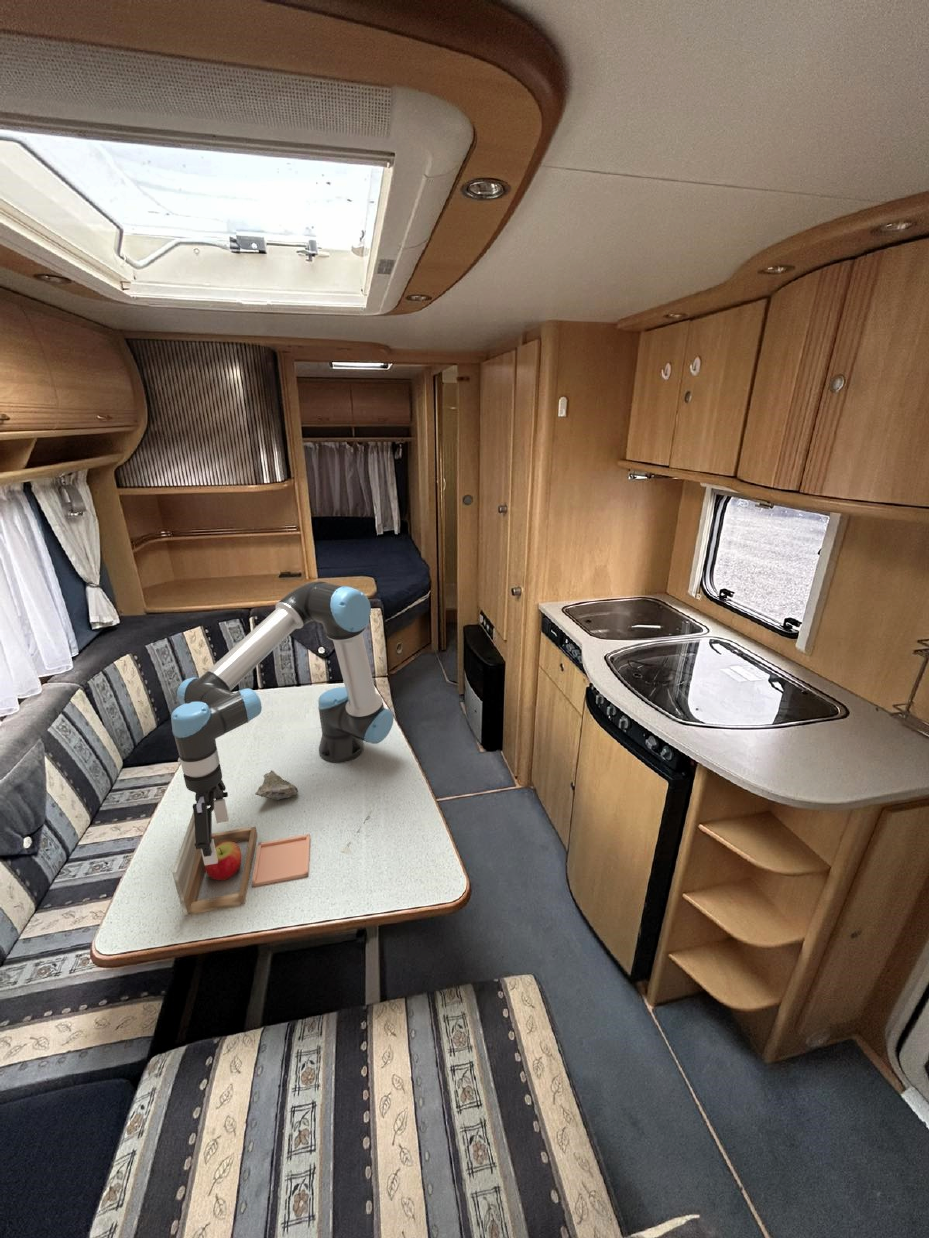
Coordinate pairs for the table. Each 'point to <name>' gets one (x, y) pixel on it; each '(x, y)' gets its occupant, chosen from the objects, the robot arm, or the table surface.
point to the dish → (281, 860)
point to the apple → (225, 861)
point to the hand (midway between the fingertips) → (217, 841)
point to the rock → (276, 787)
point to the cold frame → (192, 870)
